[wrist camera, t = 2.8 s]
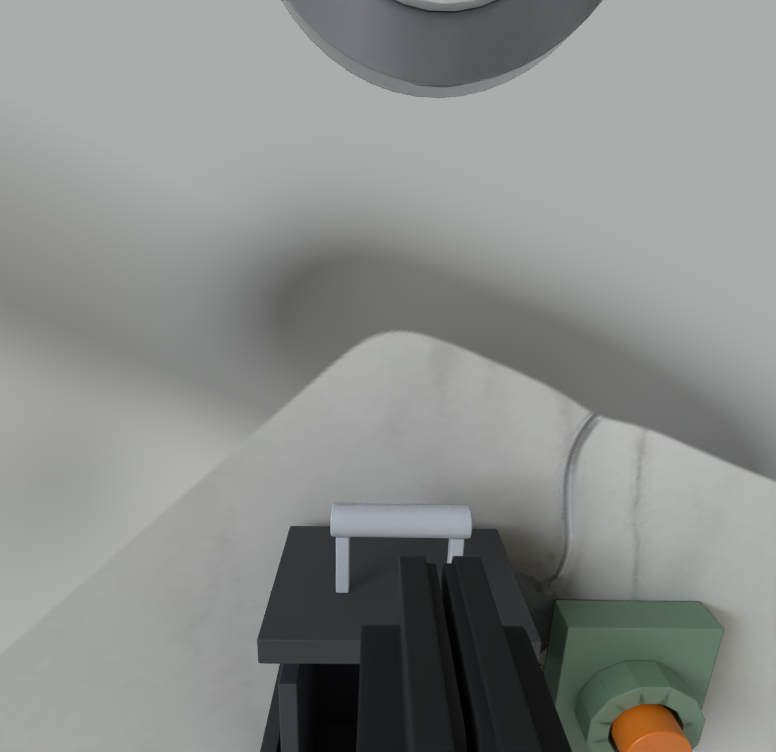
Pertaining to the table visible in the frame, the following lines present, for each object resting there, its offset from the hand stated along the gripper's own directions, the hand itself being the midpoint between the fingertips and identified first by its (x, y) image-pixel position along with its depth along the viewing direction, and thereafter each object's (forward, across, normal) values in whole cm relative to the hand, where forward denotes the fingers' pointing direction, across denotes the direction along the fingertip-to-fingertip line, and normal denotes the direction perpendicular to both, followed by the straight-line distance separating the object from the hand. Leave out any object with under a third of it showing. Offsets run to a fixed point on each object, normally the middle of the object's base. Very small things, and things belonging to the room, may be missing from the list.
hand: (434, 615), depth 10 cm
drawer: (+15, 0, +13) cm, 20 cm away
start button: (+13, -14, +19) cm, 27 cm away
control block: (+16, -14, +19) cm, 29 cm away
